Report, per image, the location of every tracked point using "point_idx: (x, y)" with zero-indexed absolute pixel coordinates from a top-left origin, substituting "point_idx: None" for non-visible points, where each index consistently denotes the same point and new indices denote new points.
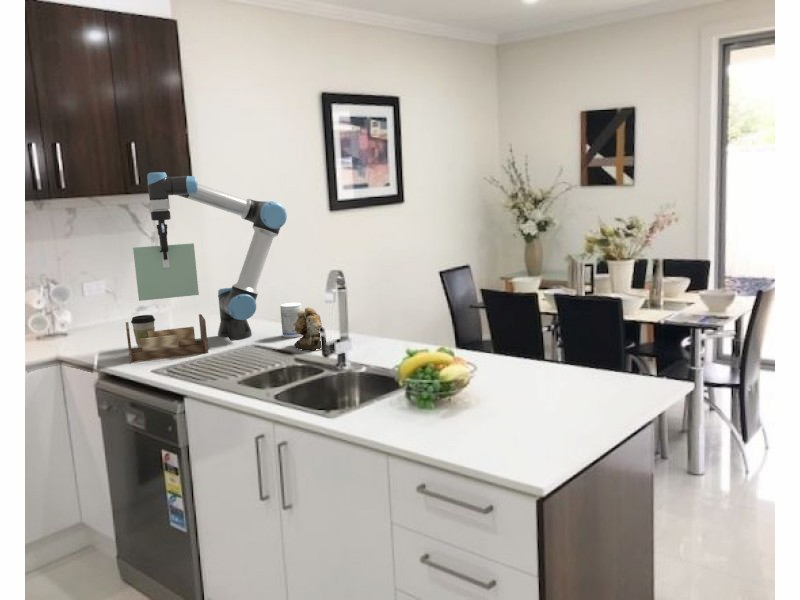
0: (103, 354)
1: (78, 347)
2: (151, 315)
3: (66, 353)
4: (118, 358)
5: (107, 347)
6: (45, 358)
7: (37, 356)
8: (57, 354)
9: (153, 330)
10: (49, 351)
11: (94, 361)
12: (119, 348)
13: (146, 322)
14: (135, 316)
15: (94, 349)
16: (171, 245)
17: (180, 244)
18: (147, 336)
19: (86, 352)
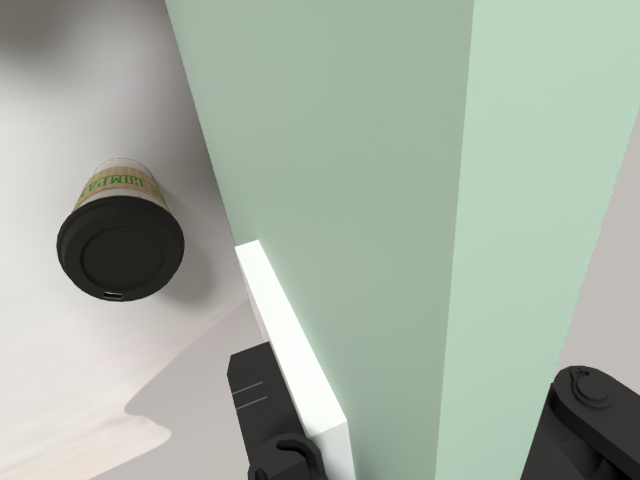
0: (145, 309)
1: (8, 421)
2: (90, 227)
3: (100, 410)
4: (220, 246)
5: (24, 338)
6: (155, 426)
7: (123, 454)
8: (109, 424)
9: (132, 183)
10: (59, 462)
11: (236, 298)
12: (52, 294)
13: (176, 221)
14: (100, 298)
15: (54, 364)
16: (505, 475)
17: (590, 245)
18: (161, 195)
19: (99, 367)
